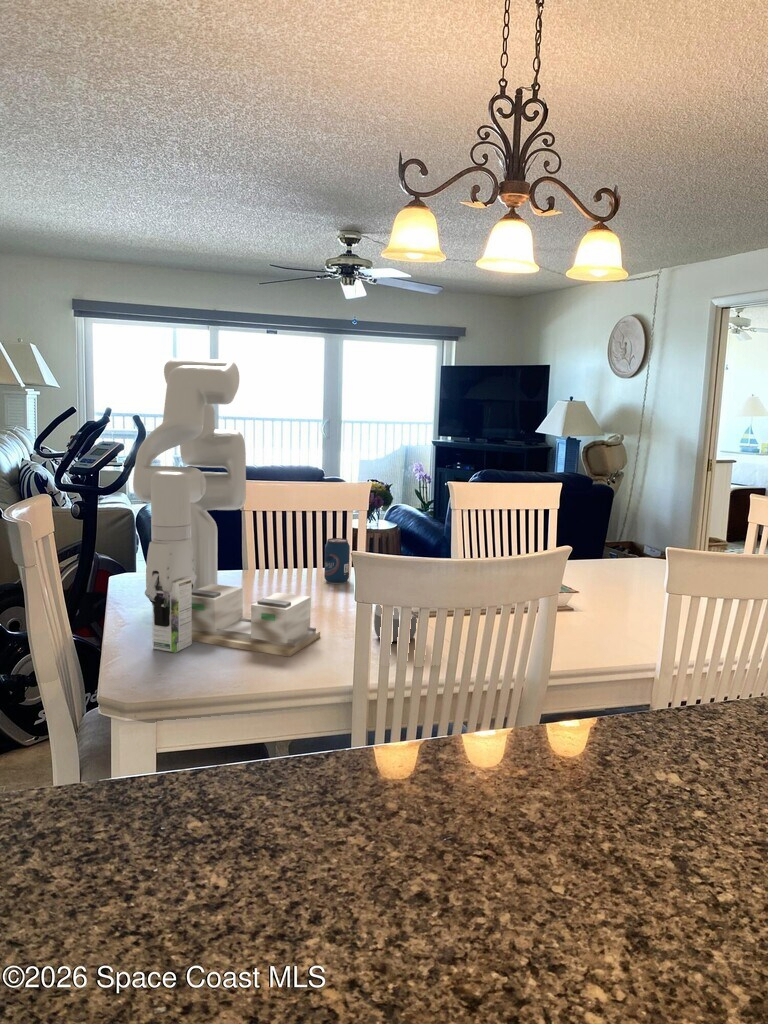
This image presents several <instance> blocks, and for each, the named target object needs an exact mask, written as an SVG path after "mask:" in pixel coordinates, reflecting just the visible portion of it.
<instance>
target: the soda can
mask: <svg viewBox="0 0 768 1024" xmlns="http://www.w3.org/2000/svg"><path fill="white" fill-rule="evenodd" d="M348 541H349V540H348V539H346V538H341V537H339V538H338V537H335V538H334V537H332V538H328V539H327V541H326V544H324V579H325V581H326V583H328V584H332V585H341V584H346V583H347V582H348V580H349V579H350V555H351V553H350V550H351V549H350V548H351V546H350V544H349V542H348Z"/></svg>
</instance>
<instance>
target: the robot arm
mask: <svg viewBox="0 0 768 1024" xmlns="http://www.w3.org/2000/svg"><path fill="white" fill-rule="evenodd" d="M163 375H164V380H165V383H166V389H165V398H164V408H163V414H162V415H163V419H162V423H161V424H160V425H158V426H157V427H156V428H155V429H153V430H152V431H151V432H150V433H149V434H148V435H147V437H145V438H144V440H143V441H142V442H141V444H140V446H139V448H138V450H137V452H136V455H135V456H136V457H135V463H134V470H133V471H134V472H133V478H132V488H133V492H134V495H135V497H136V498H137V500H139V501H141V502H144V503H150V513H151V515H150V518H151V522H150V523H151V525H150V526H151V527H150V529H151V537H150V538H151V541H149V543H148V549H147V556H146V566H145V567H146V568H145V588H146V589H145V590H144V595H145V597H147V598H148V599H149V601H150V602H151V606H152V607H153V606H154V624H155V625H157V626H163V627H168V626H169V624H170V621H169V607H167V603H168V599H169V592H171V591H172V587H173V582H175V581H177V580H179V579H182V578H186V577H191V578H192V590H194V589H199V588H202V587H205V586H207V585H210V584H216V585H218V526H217V523H216V521H215V519H214V518H213V517H212V515H211V514H210V513H209V512H208V511H214V510H215V511H216V510H217V511H237V510H240V509H241V508H243V507H244V505H245V502H246V498H247V497H246V496H247V461H246V460H247V459H246V457H247V456H246V454H247V453H246V442H245V438H244V436H243V434H242V433H241V432H240V431H238V430H234V429H221V428H220V429H219V428H218V429H217V428H216V424H215V423H216V421H215V420H216V419H215V418H216V417H215V416H216V415H215V408H214V406H213V405H229V404H231V403H232V402H233V401H234V399H235V396H236V394H237V392H238V390H239V385H240V372H239V368H238V365H237V364H236V363H235V362H234V361H231V360H224V359H223V360H222V359H204V358H203V359H202V358H175V359H171V360H169V361H167V362H166V363H165V364H164V367H163ZM178 446H179V451H180V452H179V453H180V457H181V461H182V462H183V464H184V465H186V466H172V465H170V466H168V465H153V462H154V461H155V459H156V458H157V457H159V456H160V455H161V454H162V453H164V452H166V451H168V450H171V449H173V448H175V447H178ZM198 468H223V469H225V470H226V471H227V472H219V471H218V472H215V471H201V470H200V469H198ZM159 588H162V591H161V590H159ZM160 594H163V599H161V598H160Z"/></svg>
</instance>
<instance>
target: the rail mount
mask: <svg viewBox="0 0 768 1024" xmlns="http://www.w3.org/2000/svg"><path fill="white" fill-rule="evenodd" d="M243 589H244V588H243V587H238V586H233V585H232V586H230V585H223V584H217V585H216V584H210V585H207V586H205V587H202V588H199V589H194V590H192V642H198V643H203V644H209V645H210V644H211V645H216V646H221V647H227V648H234V649H240V650H247V651H253V652H259V653H263V654H264V653H265V654H270V655H277V656H284V657H293V655H295V654H297V653H298V652H299V651H301V650H303V649H304V648H306V647H308V645H310V644H311V643H313V642H314V641H316V640H318V639H319V638H320V637H321V631H320V630H317V628H316V627H313V626H311V606H312V605H311V600H312V599H311V598H312V597H311V596H307V595H298V594H293V593H292V594H291V593H285V592H278V591H277V592H275V593H273V594H272V595H271V594H270V595H268V596H266V597H264V598H261V599H259V600H256V602H254V603H252V604H251V605H250V617H245V616H244V617H243V615H244V614H243V612H244V611H243V604H244V601H243V600H244V599H243V595H244V594H243V591H244V590H243Z"/></svg>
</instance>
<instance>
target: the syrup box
mask: <svg viewBox="0 0 768 1024" xmlns="http://www.w3.org/2000/svg"><path fill="white" fill-rule="evenodd" d="M159 590H161V591H162V588H159ZM160 598H161V599H163V594H160ZM167 607H169V621H170V624H169V626H168V627H163V626H157V625H155V624H154V606H152V649H153V650H159V651H165V652H170V653H175V654H176V653H178V652H180V651H183V650H184V649H186V648H187V647H190V646H191V645H192V644H193V641H192V578H191V577H186V578H182V579H179V580H177V581H175V582H173V587H172V591H171V592H169V599H168V603H167Z"/></svg>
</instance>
